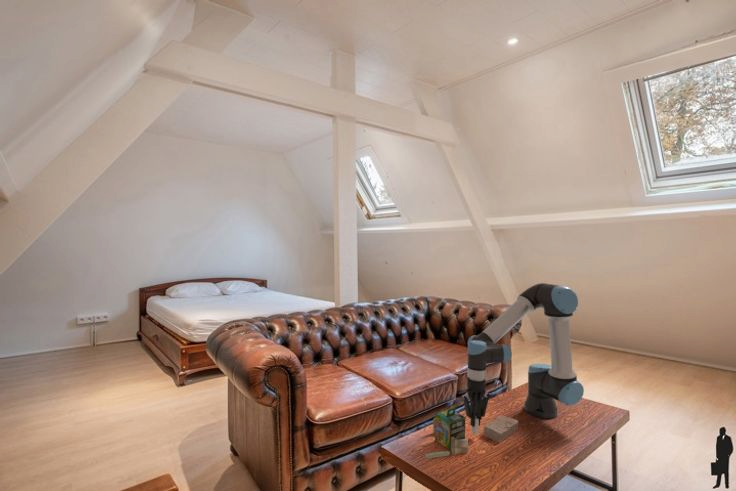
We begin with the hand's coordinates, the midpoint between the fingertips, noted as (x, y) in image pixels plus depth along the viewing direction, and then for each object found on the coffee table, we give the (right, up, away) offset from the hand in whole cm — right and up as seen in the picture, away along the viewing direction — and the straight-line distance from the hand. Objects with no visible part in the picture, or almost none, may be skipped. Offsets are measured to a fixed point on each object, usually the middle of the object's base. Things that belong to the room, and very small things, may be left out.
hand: (475, 433), depth 157 cm
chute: (-11, -2, -3) cm, 12 cm away
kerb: (-18, -2, -13) cm, 23 cm away
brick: (+13, -3, +5) cm, 14 cm away
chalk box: (-11, -3, -3) cm, 12 cm away
